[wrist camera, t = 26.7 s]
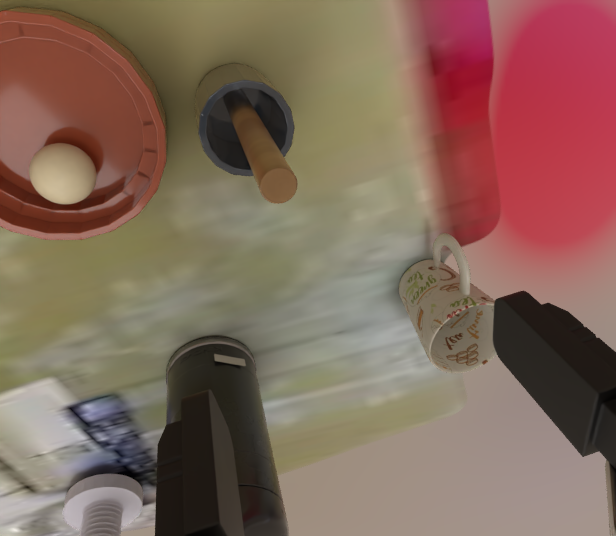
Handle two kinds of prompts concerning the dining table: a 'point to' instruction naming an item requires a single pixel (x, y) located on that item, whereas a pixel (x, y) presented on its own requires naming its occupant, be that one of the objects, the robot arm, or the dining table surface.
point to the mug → (449, 311)
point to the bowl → (75, 123)
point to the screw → (103, 504)
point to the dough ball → (62, 173)
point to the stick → (260, 150)
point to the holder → (218, 124)
